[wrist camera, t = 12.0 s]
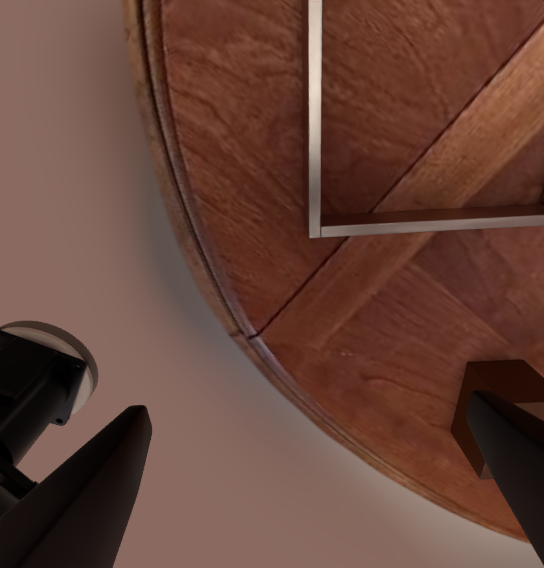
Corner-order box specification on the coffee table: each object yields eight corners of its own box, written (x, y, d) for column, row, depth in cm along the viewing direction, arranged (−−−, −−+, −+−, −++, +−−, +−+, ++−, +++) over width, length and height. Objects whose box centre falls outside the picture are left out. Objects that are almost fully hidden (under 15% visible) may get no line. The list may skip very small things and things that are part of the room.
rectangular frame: (546, 213, 19) (584, 223, 17) (303, 226, 19) (308, 238, 17) (706, -325, 11) (819, -443, 9) (298, -296, 11) (305, -405, 9)
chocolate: (499, 429, 26) (537, 477, 22) (450, 432, 26) (480, 479, 22) (523, 359, 23) (571, 400, 20) (467, 362, 23) (504, 403, 20)
